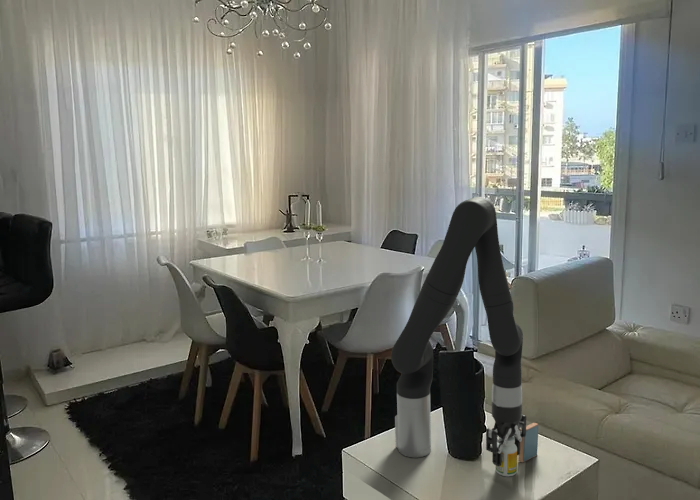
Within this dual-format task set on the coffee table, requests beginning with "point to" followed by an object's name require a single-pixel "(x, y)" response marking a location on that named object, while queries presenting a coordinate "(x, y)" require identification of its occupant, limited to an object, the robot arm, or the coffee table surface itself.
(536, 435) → the tile
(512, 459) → the supplement bottle
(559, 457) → the coffee table surface
